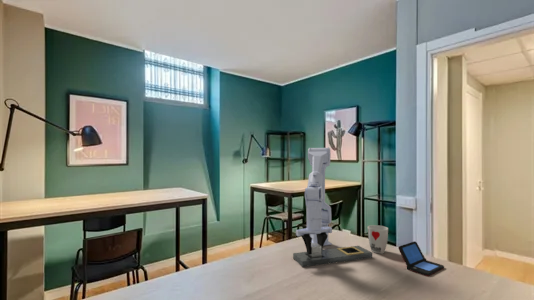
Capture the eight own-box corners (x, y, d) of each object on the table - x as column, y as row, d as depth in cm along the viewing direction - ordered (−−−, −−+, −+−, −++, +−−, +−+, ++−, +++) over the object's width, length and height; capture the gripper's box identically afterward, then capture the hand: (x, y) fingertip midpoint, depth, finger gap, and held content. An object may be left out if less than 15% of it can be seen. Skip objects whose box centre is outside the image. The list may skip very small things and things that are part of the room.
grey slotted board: (293, 258, 111) (293, 252, 111) (358, 250, 120) (358, 245, 120) (302, 267, 102) (302, 261, 102) (372, 257, 111) (372, 252, 111)
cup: (363, 249, 120) (363, 226, 120) (377, 247, 124) (377, 224, 124) (378, 256, 113) (378, 231, 113) (392, 252, 116) (392, 228, 116)
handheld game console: (428, 277, 94) (427, 255, 94) (397, 267, 102) (397, 246, 103) (445, 268, 101) (445, 248, 101) (415, 259, 109) (415, 240, 110)
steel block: (307, 259, 110) (307, 243, 110) (316, 258, 111) (316, 242, 111) (312, 263, 106) (311, 247, 106) (321, 261, 107) (321, 246, 107)
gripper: (300, 221, 103) (301, 258, 103) (336, 218, 107) (336, 254, 107) (293, 217, 110) (293, 252, 109) (326, 214, 114) (327, 248, 114)
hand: (314, 252), depth 109 cm, fingers closed on steel block, 4 cm apart
